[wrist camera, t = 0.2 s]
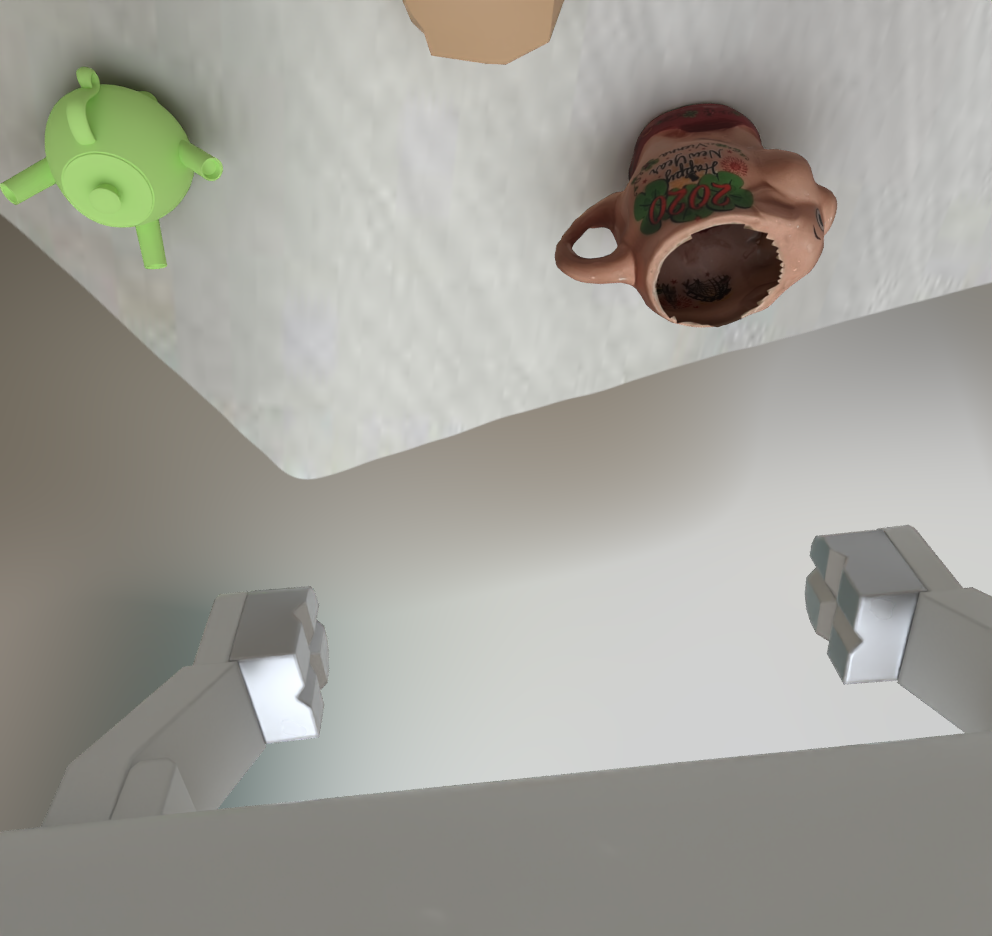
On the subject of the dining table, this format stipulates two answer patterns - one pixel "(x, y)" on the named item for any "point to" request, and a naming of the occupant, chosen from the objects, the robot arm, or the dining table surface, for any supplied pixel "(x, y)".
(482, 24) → the squash
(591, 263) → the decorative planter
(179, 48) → the dining table surface
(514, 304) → the dining table surface
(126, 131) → the teapot
